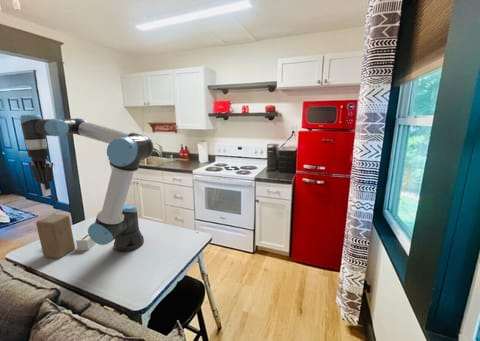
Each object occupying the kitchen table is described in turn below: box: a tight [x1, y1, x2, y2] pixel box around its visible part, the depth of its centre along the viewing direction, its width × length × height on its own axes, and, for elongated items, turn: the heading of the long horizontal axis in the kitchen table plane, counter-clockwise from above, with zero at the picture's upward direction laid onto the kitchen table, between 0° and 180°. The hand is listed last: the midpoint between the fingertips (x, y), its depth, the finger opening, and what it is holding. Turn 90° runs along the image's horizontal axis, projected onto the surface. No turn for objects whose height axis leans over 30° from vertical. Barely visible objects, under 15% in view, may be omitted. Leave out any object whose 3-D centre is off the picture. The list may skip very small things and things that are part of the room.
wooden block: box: [35, 213, 76, 260], centre depth 119 cm, size 10×10×20 cm
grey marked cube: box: [75, 234, 97, 251], centre depth 126 cm, size 6×6×6 cm
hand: (47, 195), depth 114 cm, fingers closed
